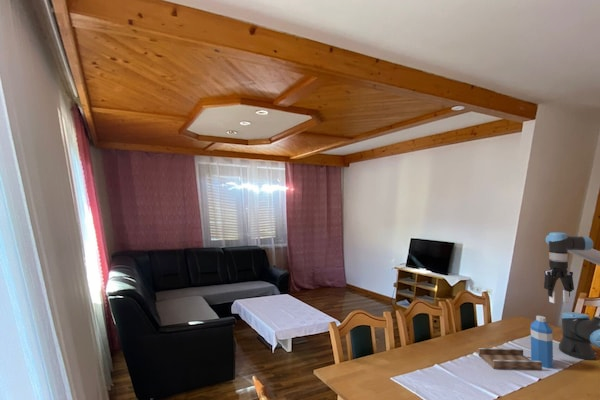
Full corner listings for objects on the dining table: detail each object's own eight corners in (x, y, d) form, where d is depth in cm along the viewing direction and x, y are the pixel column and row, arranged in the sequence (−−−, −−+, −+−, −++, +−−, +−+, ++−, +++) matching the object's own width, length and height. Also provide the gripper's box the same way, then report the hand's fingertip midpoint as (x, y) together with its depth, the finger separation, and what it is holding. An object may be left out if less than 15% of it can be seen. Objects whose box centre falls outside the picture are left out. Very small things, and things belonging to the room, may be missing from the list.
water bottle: (557, 369, 145) (556, 321, 146) (537, 367, 147) (536, 319, 148) (545, 359, 154) (545, 314, 155) (526, 357, 156) (526, 313, 157)
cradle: (522, 356, 158) (522, 349, 158) (541, 370, 144) (541, 361, 145) (478, 355, 158) (478, 348, 158) (494, 369, 145) (494, 360, 145)
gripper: (570, 259, 156) (571, 300, 155) (534, 259, 156) (535, 300, 156) (583, 262, 149) (584, 305, 148) (546, 261, 149) (546, 304, 148)
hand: (559, 302), depth 152 cm, fingers open, 7 cm apart
